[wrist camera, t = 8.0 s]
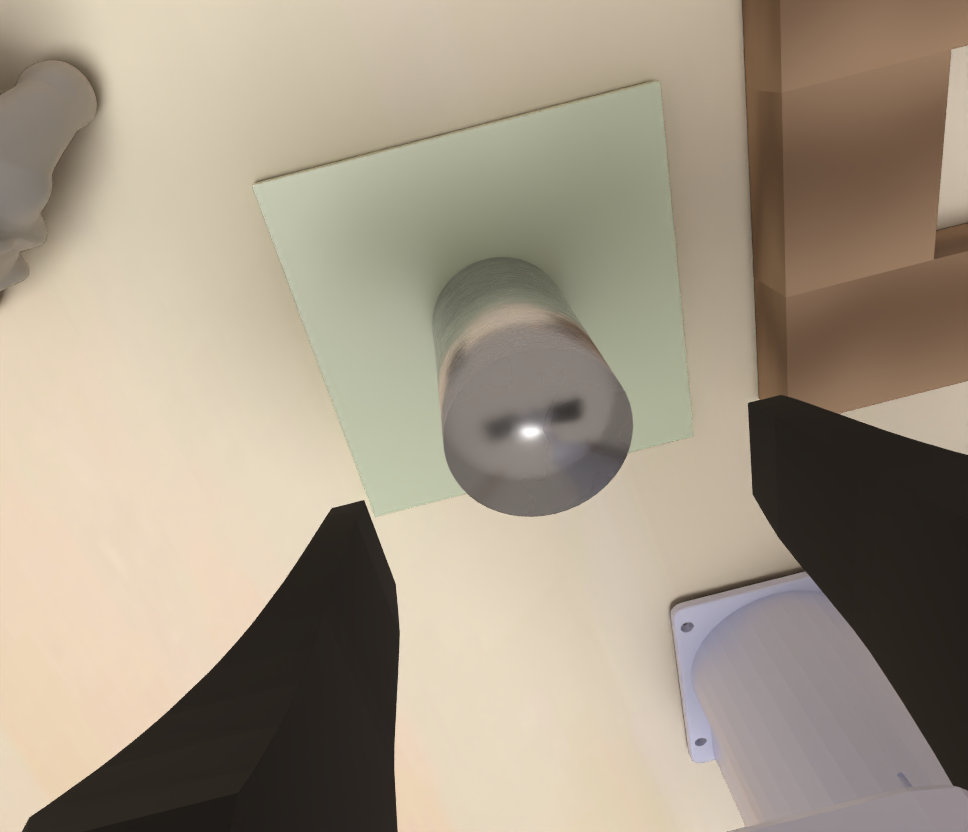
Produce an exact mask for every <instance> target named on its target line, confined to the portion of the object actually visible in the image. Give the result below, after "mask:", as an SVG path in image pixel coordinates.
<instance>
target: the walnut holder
mask: <svg viewBox="0 0 968 832" xmlns="http://www.w3.org/2000/svg"><path fill="white" fill-rule="evenodd" d="M742 2H743V26H744V50H745V74H746V98H747V122H748V146H749V169H750V193H751V217H752V241H753V265H754V289H755V313H756V337H757V360H758V384H759V399H760V400H762V399H766V398H770V397H774V396H778V395H784V396H787V397H791V398H794V399H798V400H801V401H804V402H806V403H809V404H812V405H815V406H818V407H821V408H823V409H826V410H829V411H832V412H834V413H837V414H839V413H843V412H847V411H851V410H854V409H858V408H862V407H866V406H870V405H874V404H878V403H882V402H886V401H890V400H894V399H898V398H902V397H906V396H910V395H914V394H918V393H922V392H926V391H930V390H933V389H937V388H941V387H945V386H949V385H953V384H957V383H961V382H965V381H968V223H966V224H962V225H958V226H954V227H950V228H946V229H942V230H938V231H936V226H937V214H938V202H939V190H940V178H941V166H942V155H943V143H944V131H945V119H946V107H947V95H948V83H949V71H950V59H951V49H955V48H959V47H963V46H967V45H968V0H742Z"/></svg>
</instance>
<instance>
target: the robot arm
mask: <svg viewBox="0 0 968 832" xmlns="http://www.w3.org/2000/svg"><path fill="white" fill-rule="evenodd" d="M748 412H749V432H750V451H751V470H752V490H753V496H754V497H755V499H756V501H757V502H758V504H759V506H760V508H761V509H762V511H763V513H764V515H765V516H766V518H767V520H768V521H769V523H770V525H771V526H772V528H773V529H774V531H775V533H776V534H777V536H778V537H779V539H780V540H781V541H782V543H783V544H784V545H785V546H786V548H787V549H788V550H789V551H790V553H791V554H792V555H793V556H794V558H795V559H796V560H797V561H798V563H799V564H800V565H801V566H802V568H803V569H804V570H805V572H801V573H797V574H793V575H789V576H785V577H781V578H777V579H773V580H769V581H765V582H761V583H757V584H753V585H749V586H745V587H741V588H737V589H733V590H729V591H725V592H721V593H717V594H713V595H709V596H705V597H701V598H697V599H694V600H690V601H686V602H682V603H679V604H677V605H676V606H674V607H673V609H672V610H671V623H672V630H673V638H674V645H675V653H676V660H677V668H678V676H679V683H680V691H681V698H682V706H683V713H684V721H685V728H686V736H687V744H688V751H689V754H690V757H691V759H692V761H694V762H696V763H704V762H708V761H712V760H716V761H717V764H718V766H719V768H720V770H721V773H722V775H723V777H724V779H725V781H726V784H727V786H728V788H729V790H730V792H731V795H732V797H733V799H734V801H735V803H736V806H737V808H738V810H739V812H740V815H741V817H742V819H743V821H744V823H745V826H746V827H744V828H740V829H736V830H732V831H728V832H968V455H965V454H962V453H958V452H954V451H950V450H947V449H943V448H940V447H937V446H933V445H930V444H926V443H923V442H920V441H916V440H913V439H910V438H907V437H903V436H900V435H897V434H894V433H891V432H888V431H885V430H882V429H879V428H876V427H874V426H871V425H868V424H865V423H862V422H859V421H857V420H854V419H851V418H848V417H845V416H843V415H840V414H837V413H834V412H832V411H829V410H826V409H823V408H821V407H818V406H815V405H812V404H809V403H806V402H804V401H801V400H798V399H794V398H791V397H787V396H784V395H778V396H774V397H770V398H766V399H762V400H758V401H754V402H750V403H748ZM687 622H688V623H687ZM684 623H687V624H685V625H683V624H684ZM399 637H400V630H399V617H398V605H397V594H396V584H395V581H394V579H393V576H392V573H391V571H390V568H389V565H388V563H387V560H386V557H385V555H384V552H383V549H382V547H381V544H380V541H379V539H378V536H377V533H376V531H375V528H374V525H373V523H372V520H371V517H370V515H369V512H368V509H367V507H366V504H365V501H364V500H363V501H359V502H355V503H351V504H347V505H343V506H339V507H335V508H332V509H331V510H330V512H329V513H328V515H327V516H326V518H325V519H324V521H323V523H322V524H321V526H320V527H319V529H318V530H317V532H316V533H315V535H314V537H313V538H312V540H311V541H310V543H309V544H308V546H307V547H306V549H305V551H304V552H303V554H302V555H301V557H300V558H299V560H298V561H297V563H296V564H295V566H294V567H293V569H292V570H291V572H290V573H289V575H288V576H287V578H286V579H285V581H284V582H283V583H282V585H281V586H280V588H279V589H278V590H277V592H276V593H275V594H274V596H273V597H272V598H271V600H270V601H269V602H268V604H267V605H266V606H265V608H264V609H263V610H262V612H261V613H260V614H259V616H258V617H257V618H256V620H255V621H254V622H253V623H252V625H251V626H250V627H249V628H248V629H247V631H246V632H245V633H244V634H243V635H242V637H241V638H240V639H239V640H238V641H237V642H236V643H235V645H234V646H233V647H232V648H231V649H230V650H229V651H228V652H227V653H226V655H225V656H224V657H223V658H222V659H221V660H220V661H219V662H218V663H217V664H216V665H215V666H214V667H213V669H212V670H211V671H210V672H209V673H208V674H207V675H206V676H205V677H203V678H202V679H201V680H200V681H199V682H198V683H197V684H196V685H195V686H194V687H193V688H192V689H191V690H190V691H189V692H188V693H187V694H186V695H185V696H184V697H183V698H182V699H181V700H179V701H178V702H177V703H176V704H175V705H174V706H173V707H172V708H171V709H170V710H169V711H168V712H167V713H166V714H165V715H163V716H162V717H161V718H160V719H159V720H158V721H157V722H155V723H154V724H153V725H152V726H151V727H150V728H148V729H147V730H146V731H145V732H144V733H143V734H141V735H140V736H139V737H138V738H137V739H135V740H134V741H133V742H132V743H130V744H129V745H128V746H127V747H125V748H124V749H123V750H122V751H120V752H119V753H118V754H117V755H115V756H114V757H113V758H112V759H110V760H109V761H108V762H106V763H105V764H104V765H103V766H101V767H100V768H99V769H97V770H96V771H95V772H93V773H92V774H90V775H89V776H88V777H86V778H85V779H83V780H82V781H81V782H79V783H78V784H76V785H75V786H74V787H72V788H71V789H69V790H68V791H67V792H65V793H64V794H62V795H61V796H60V797H58V798H57V799H55V800H54V801H53V802H51V803H50V804H49V805H47V806H46V807H44V808H43V809H41V810H40V811H38V812H37V813H35V814H34V815H32V816H31V817H29V819H28V821H27V823H26V825H25V827H24V829H23V831H22V832H398V831H397V814H396V795H395V776H394V741H395V721H396V702H397V682H398V661H399Z"/></svg>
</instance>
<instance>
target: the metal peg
mask: <svg viewBox="0 0 968 832" xmlns="http://www.w3.org/2000/svg"><path fill="white" fill-rule="evenodd" d="M432 326H433V339H434V349H435V360H436V371H437V381H438V392H439V403H440V413H441V424H442V435H443V445H444V453H445V457H446V461H447V464H448V467H449V469H450V471H451V473H452V475H453V477H454V478H455V480H456V481H457V483H458V484H459V485H460V487H461V488H462V489H463V490H464V491H465V492H466V493H467V494H468V495H469V496H470V497H472V498H473V499H475V500H476V501H477V502H479V503H481V504H482V505H484V506H486V507H488V508H490V509H493V510H495V511H498V512H501V513H505V514H509V515H515V516H529V517H534V516H545V515H550V514H556V513H559V512H562V511H566V510H568V509H571V508H573V507H575V506H578V505H580V504H581V503H583V502H585V501H587V500H589V499H590V498H591V497H593V496H594V495H596V494H597V493H598V492H599V491H601V490H602V489H603V488H604V487H605V486H606V485H607V484H608V483H609V482H610V481H611V480H612V479H613V477H614V476H615V475H616V473H617V472H618V471H619V469H620V468H621V466H622V464H623V462H624V460H625V458H626V456H627V453H628V451H629V448H630V444H631V440H632V434H633V415H632V410H631V406H630V402H629V400H628V397H627V395H626V392H625V391H624V389H623V387H622V386H621V384H620V382H619V381H618V379H617V378H616V376H615V375H614V373H613V372H612V370H611V368H610V367H609V365H608V364H607V362H606V361H605V359H604V358H603V356H602V355H601V353H600V352H599V350H598V348H597V347H596V345H595V344H594V342H593V341H592V339H591V338H590V336H589V335H588V333H587V332H586V330H585V328H584V327H583V325H582V324H581V322H580V321H579V319H578V318H577V316H576V315H575V313H574V312H573V310H572V308H571V307H570V305H569V304H568V302H567V301H566V299H565V298H564V296H563V295H562V293H561V292H560V290H559V288H558V287H557V285H556V284H555V283H554V281H553V280H552V279H551V278H550V277H549V276H548V275H547V274H546V273H545V272H544V271H543V270H541V269H540V268H538V267H537V266H535V265H533V264H531V263H529V262H526V261H524V260H521V259H516V258H510V257H494V258H488V259H484V260H481V261H478V262H475V263H473V264H471V265H469V266H467V267H465V268H464V269H462V270H461V271H459V272H458V273H457V274H456V275H454V276H453V277H452V278H451V279H450V281H449V282H448V283H447V284H446V285H445V287H444V288H443V290H442V291H441V293H440V295H439V297H438V299H437V302H436V305H435V308H434V313H433V321H432Z"/></svg>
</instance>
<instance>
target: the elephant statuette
mask: <svg viewBox="0 0 968 832" xmlns="http://www.w3.org/2000/svg"><path fill="white" fill-rule="evenodd" d="M96 109H97V101H96V96H95V93H94V90H93V88H92V86H91V84H90V83H89V81H88V80H87V78H86V77H85V76H84V75H83V74H82V73H81V72H80V71H79V70H78V69H76V68H75V67H73V66H72V65H70V64H68V63H65V62H62V61H57V60H47V61H42V62H38V63H35V64H33V65H31V66H29V67H28V68H26V69H25V70H24V71H23V72H22V74H21V75H20V77H19V78H18V80H17V82H16V85H15V87H13V88H12V89H10V90H8V91H6V92H4V93H2V94H1V95H0V291H2V290H4V289H6V288H8V287H10V286H11V285H14V284H17V283H19V282H21V281H23V280H24V279H25V278H27V276H28V275H29V266H28V264H27V262H26V261H25V260H24V259H23V257H22V256H21V255H20V254H19V253H20V252H21V251H23V250H27V249H31V248H35V247H38V246H41V245H42V244H43V243H44V242H45V241H46V240H47V228H46V224H45V222H44V220H43V218H42V216H41V213H40V212H41V211H42V210H43V208H44V207H45V205H46V204H47V202H48V200H49V198H50V195H51V191H52V173H53V170H54V168H55V166H56V164H57V163H58V161H59V159H60V157H61V156H62V154H63V152H64V151H65V149H66V147H67V146H68V144H69V143H70V141H71V140H72V138H73V137H74V135H75V134H76V132H77V131H78V130H79V129H82V128H83V127H85V126H87V125H88V124H89V123H90V122H91V121H92V120H93V118H94V116H95V114H96Z"/></svg>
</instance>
